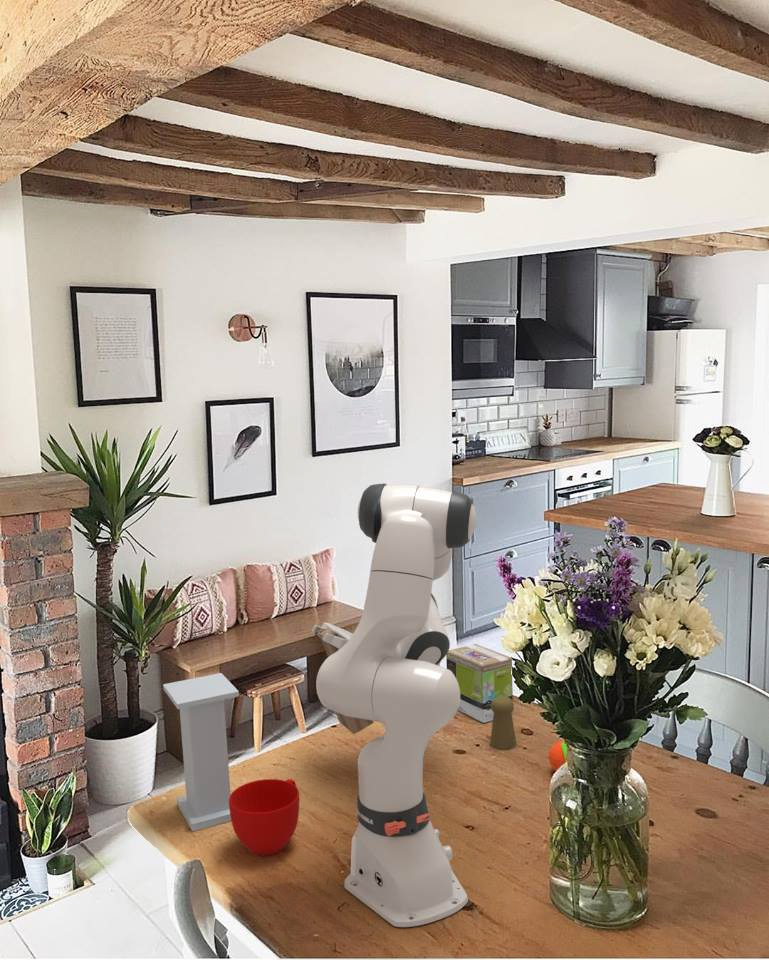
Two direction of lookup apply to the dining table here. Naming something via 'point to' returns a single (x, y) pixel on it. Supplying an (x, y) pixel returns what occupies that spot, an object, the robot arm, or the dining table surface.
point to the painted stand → (204, 748)
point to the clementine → (558, 755)
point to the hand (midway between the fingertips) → (319, 632)
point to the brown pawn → (502, 724)
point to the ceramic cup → (265, 814)
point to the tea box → (480, 679)
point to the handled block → (349, 722)
